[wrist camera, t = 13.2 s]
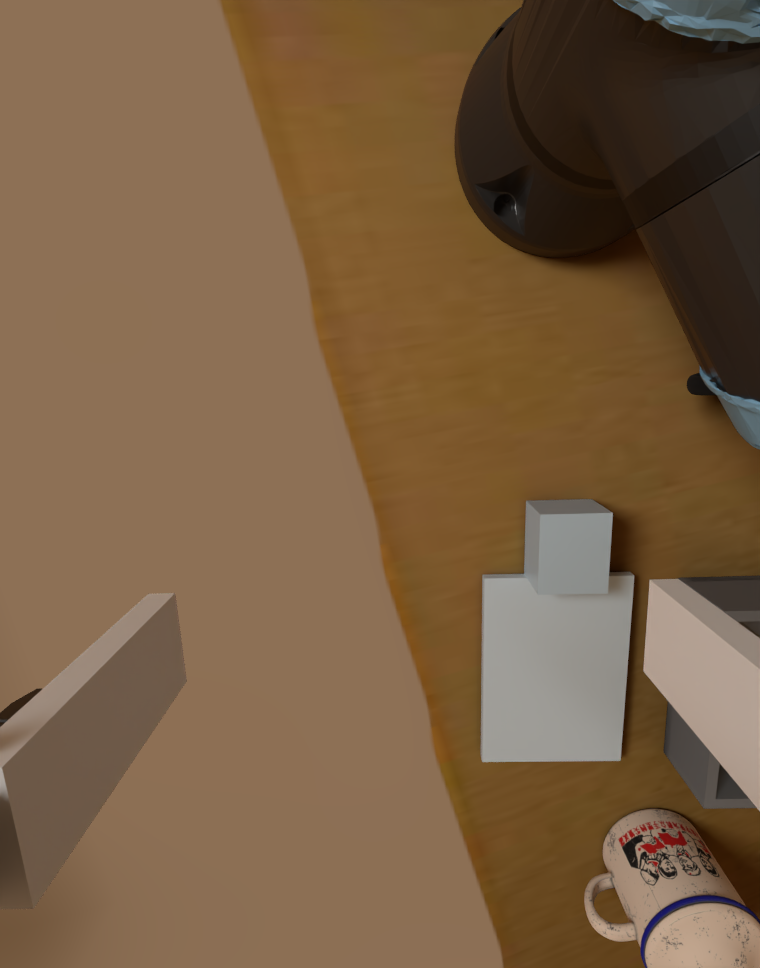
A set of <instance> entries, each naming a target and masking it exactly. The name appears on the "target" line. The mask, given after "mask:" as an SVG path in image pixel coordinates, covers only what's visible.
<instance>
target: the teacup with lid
mask: <svg viewBox="0 0 760 968" xmlns="http://www.w3.org/2000/svg"><path fill="white" fill-rule="evenodd" d="M603 859H604V863H605V865H606V868H607V870H608V873H604V874H600V875H598V876H596V877H594V878H593V879H591V880H590V882H589V883H588V885H587V887H586V890H585V898H584V900H585V909H586V914H587V917H588V919H589V921H590V923H591V925H592V926H593V928H594V929H595V930H596V931H597V932H598V933H599V934H601V935H602V936H604V937H606V938H608V939H610V940H614V941H632V940H637V941H638V943H639V945H640V948H641V957H642V960H643V963H644V965H645V967H646V968H760V920H759V919H758V917H757V916H756V915H755V914H754V913H753V912H752V911H751V910H750V909H749V908H747V907H746V905H745V904H744V902H743V901H742V899H741V897H740V896H739V894H738V893H737V891H736V890H735V888H734V887H733V885H732V884H731V882H730V881H729V879H728V878H727V876H726V875H725V873H724V872H723V870H722V869H721V867H720V866H719V864H718V863H717V861H716V859H715V858H714V856H713V855H712V853H711V852H710V850H709V849H708V847H707V846H706V844H705V843H704V841H703V840H702V838H701V837H700V835H699V834H698V832H697V831H696V829H695V828H694V826H693V825H692V824H691V823H690V822H689V821H688V820H687V819H685V818H684V817H682V816H681V815H679V814H677V813H674V812H672V811H668V810H664V809H644V810H639V811H636V812H633V813H631V814H628V815H627V816H625V817H623V818H622V819H620V820H619V821H618V822H617V823H615V824H614V826H613V827H612V828H611V829H610V831H609V832H608V834H607V836H606V838H605V841H604V845H603ZM610 888H615V889H616V891H617V894H618V896H619V898H620V901H621V903H622V905H623V908H624V910H625V912H626V915H627V917H628V919H629V922H630V923H624V924H614V923H610V922H607V921H606V920H604V919H602V918H601V917H600V916H599V915H598V914H597V912H596V910H595V908H594V905H593V904H594V900H595V897H596V896H597V894H598V893H599V892H601V891H603V890H606V889H610Z"/></svg>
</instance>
